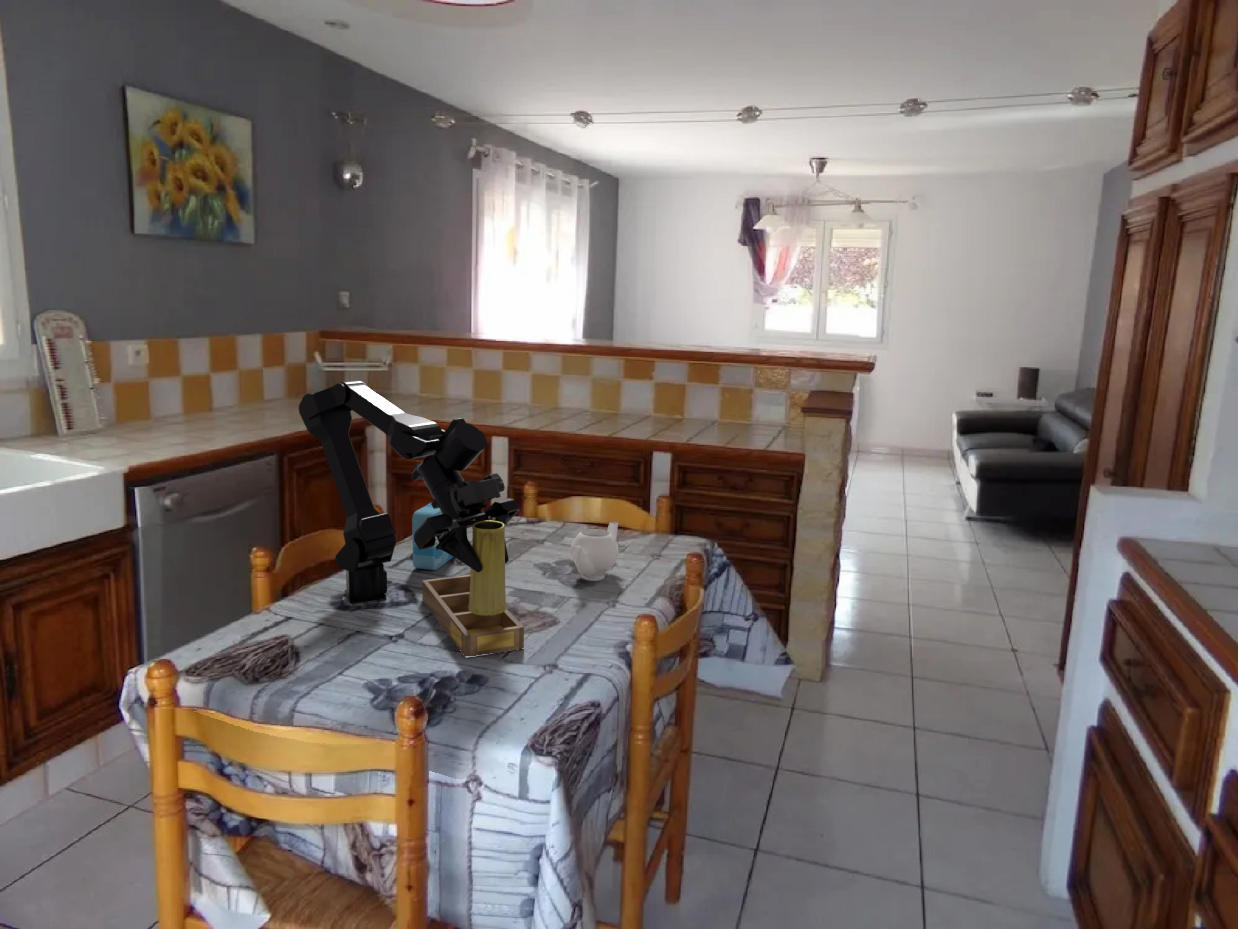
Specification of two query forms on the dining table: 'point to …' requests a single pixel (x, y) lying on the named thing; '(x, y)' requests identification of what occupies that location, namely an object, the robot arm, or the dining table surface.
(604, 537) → the teapot
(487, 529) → the vase
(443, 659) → the dining table surface
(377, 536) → the robot arm
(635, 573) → the dining table surface
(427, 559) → the data package
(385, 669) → the dining table surface
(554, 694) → the dining table surface
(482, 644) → the rack
